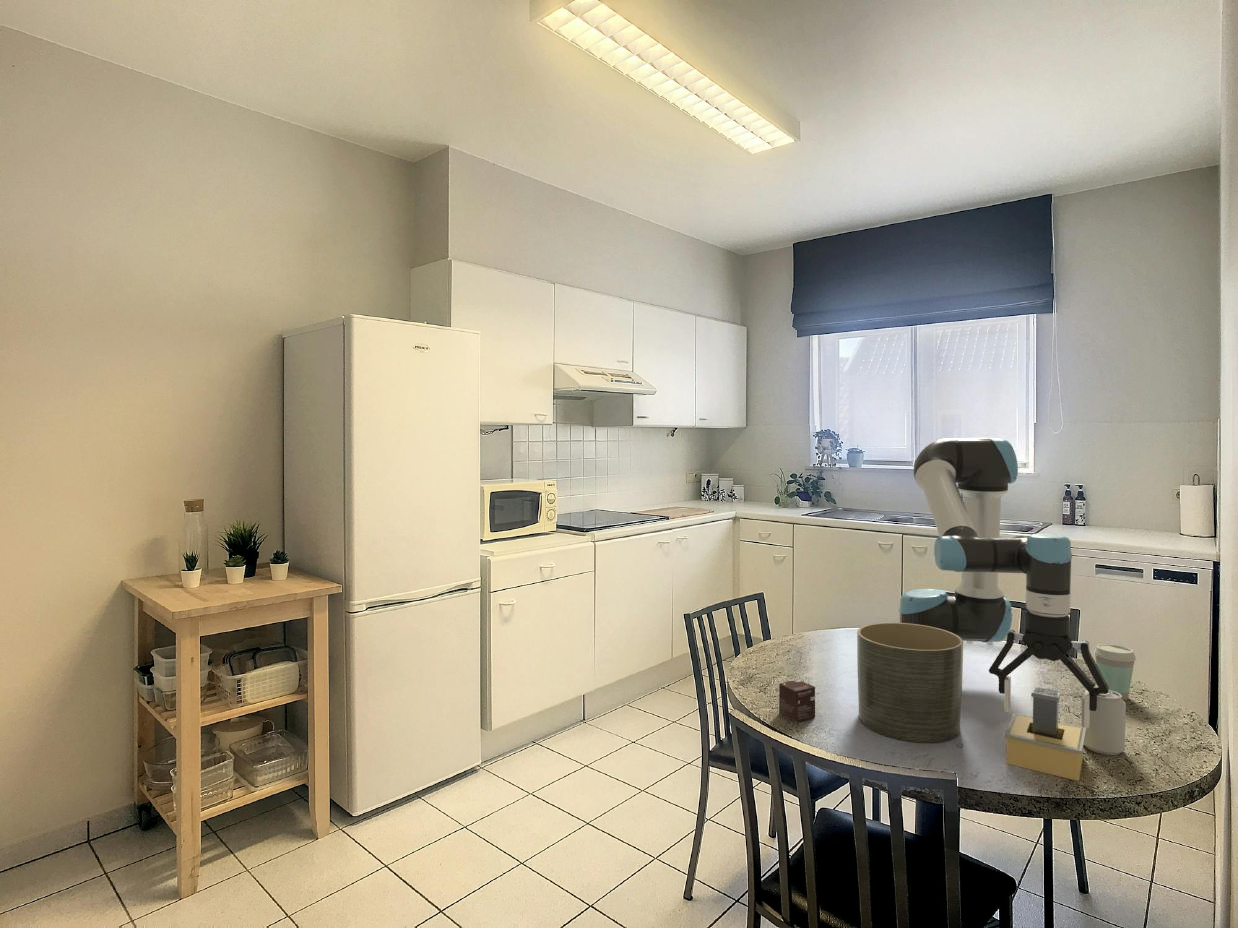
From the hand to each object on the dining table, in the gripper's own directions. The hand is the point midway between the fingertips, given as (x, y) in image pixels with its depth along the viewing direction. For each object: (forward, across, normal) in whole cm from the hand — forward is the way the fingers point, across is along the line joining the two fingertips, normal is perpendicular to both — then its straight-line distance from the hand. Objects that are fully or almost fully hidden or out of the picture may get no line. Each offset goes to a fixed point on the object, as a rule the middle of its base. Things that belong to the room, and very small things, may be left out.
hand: (1045, 717), depth 138 cm
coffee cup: (+9, +10, +50) cm, 52 cm away
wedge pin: (+9, 0, 0) cm, 9 cm away
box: (+9, -49, -8) cm, 50 cm away
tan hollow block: (+9, 0, 0) cm, 9 cm away
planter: (+9, -27, +3) cm, 29 cm away
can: (+9, +9, +13) cm, 18 cm away
